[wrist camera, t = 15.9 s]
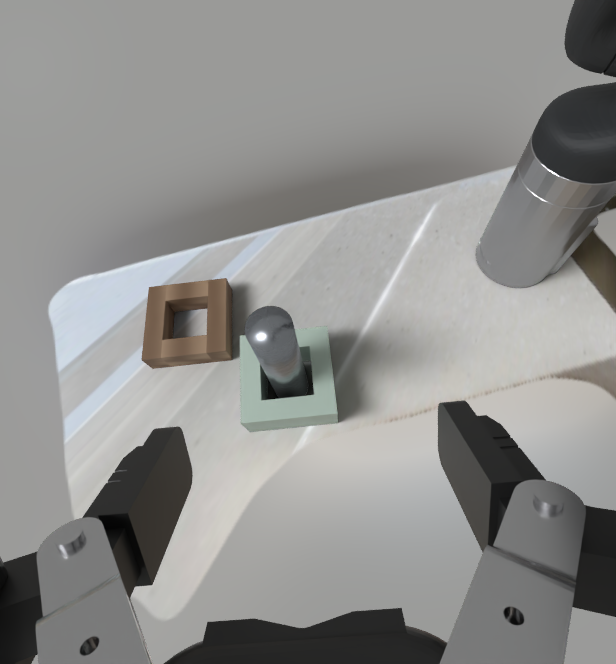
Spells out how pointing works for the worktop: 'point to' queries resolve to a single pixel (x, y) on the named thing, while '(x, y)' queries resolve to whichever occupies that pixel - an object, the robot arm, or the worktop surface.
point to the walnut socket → (188, 349)
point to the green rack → (294, 409)
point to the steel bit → (277, 350)
